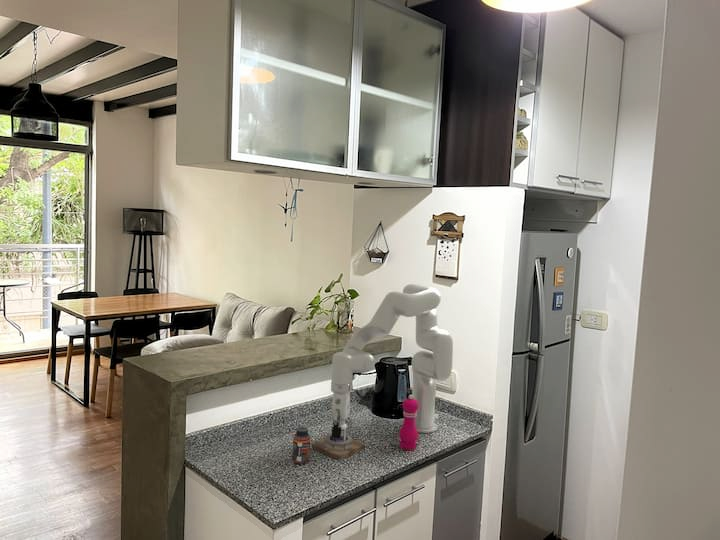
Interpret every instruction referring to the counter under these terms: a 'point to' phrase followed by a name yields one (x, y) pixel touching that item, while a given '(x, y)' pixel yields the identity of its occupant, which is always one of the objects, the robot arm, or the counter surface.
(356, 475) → the counter surface
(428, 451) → the counter surface
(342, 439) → the pill bottle
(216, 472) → the counter surface
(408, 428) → the pepper mill
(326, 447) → the hub board
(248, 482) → the counter surface
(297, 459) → the supplement bottle
